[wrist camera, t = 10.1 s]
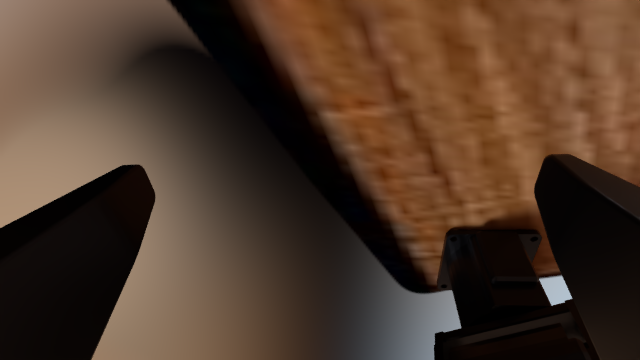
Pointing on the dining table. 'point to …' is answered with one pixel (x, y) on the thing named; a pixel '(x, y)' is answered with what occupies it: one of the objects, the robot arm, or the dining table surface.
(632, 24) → the dining table surface
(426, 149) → the dining table surface
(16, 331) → the robot arm
